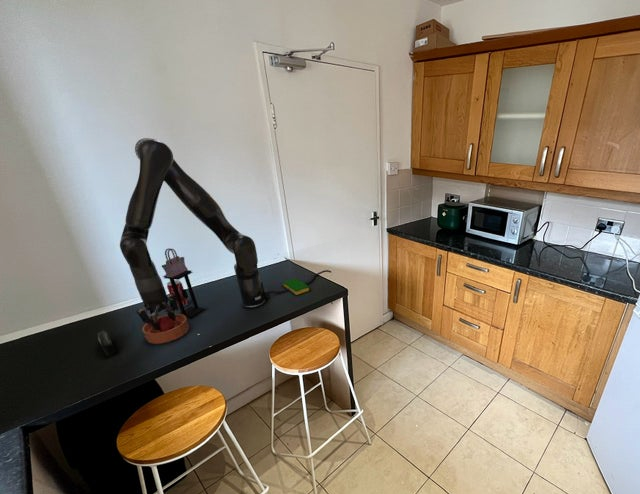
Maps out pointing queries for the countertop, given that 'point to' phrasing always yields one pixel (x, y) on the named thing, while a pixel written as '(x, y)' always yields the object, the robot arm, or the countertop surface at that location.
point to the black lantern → (177, 271)
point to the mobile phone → (106, 343)
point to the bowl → (162, 337)
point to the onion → (165, 323)
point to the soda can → (179, 287)
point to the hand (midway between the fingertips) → (165, 325)
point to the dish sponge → (296, 286)
